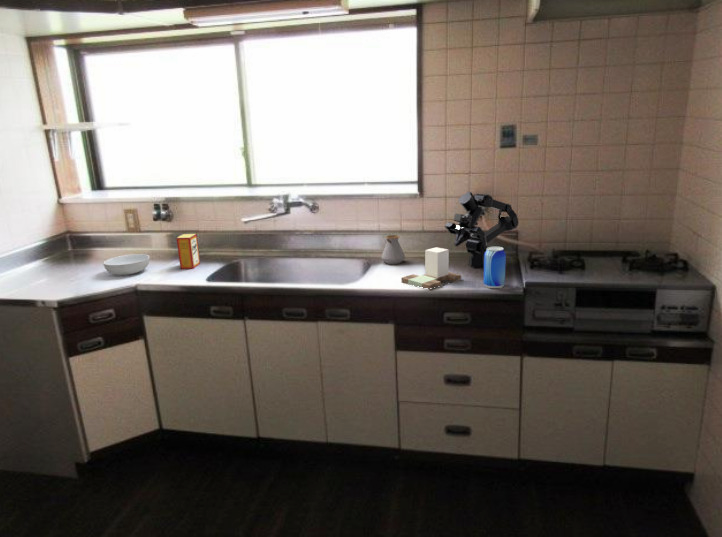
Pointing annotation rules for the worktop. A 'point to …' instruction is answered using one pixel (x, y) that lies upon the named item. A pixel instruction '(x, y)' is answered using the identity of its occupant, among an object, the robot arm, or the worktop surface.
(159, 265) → the worktop surface
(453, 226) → the robot arm
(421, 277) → the green pad
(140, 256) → the serving bowl
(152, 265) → the worktop surface
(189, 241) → the baking soda box
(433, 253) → the cream block
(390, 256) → the coffee pot
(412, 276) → the walnut trap board
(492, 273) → the beer can
